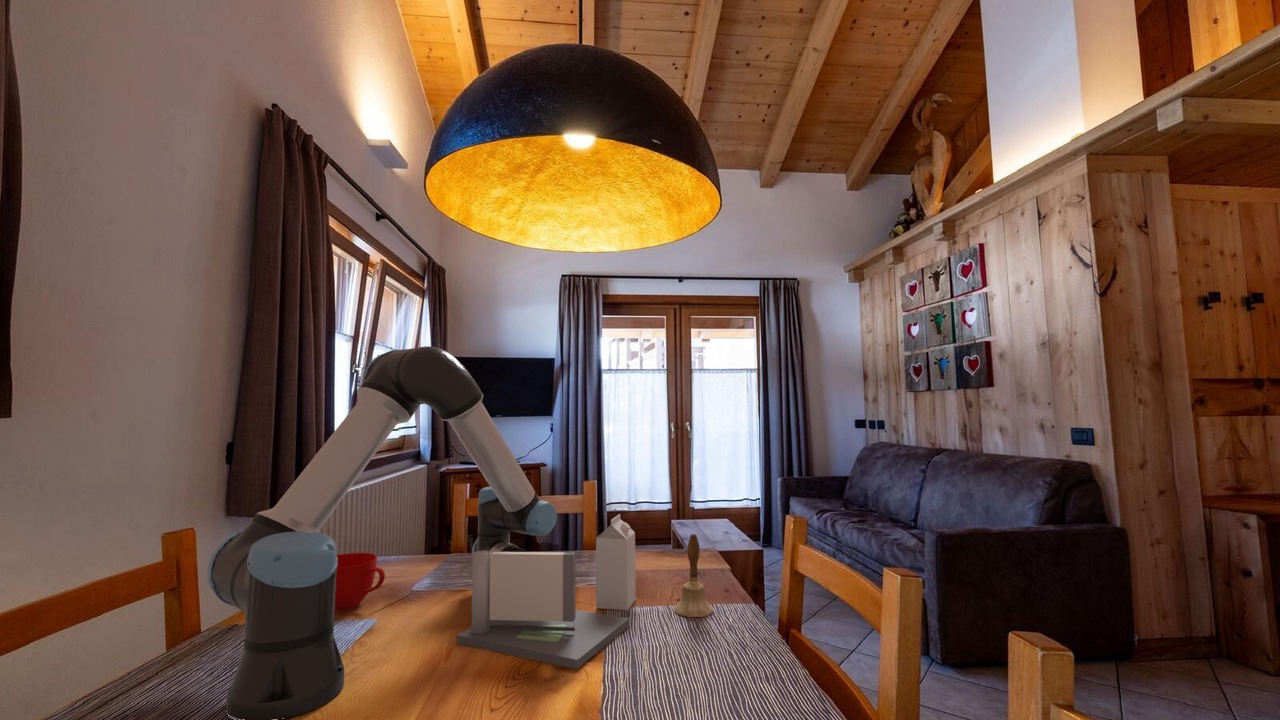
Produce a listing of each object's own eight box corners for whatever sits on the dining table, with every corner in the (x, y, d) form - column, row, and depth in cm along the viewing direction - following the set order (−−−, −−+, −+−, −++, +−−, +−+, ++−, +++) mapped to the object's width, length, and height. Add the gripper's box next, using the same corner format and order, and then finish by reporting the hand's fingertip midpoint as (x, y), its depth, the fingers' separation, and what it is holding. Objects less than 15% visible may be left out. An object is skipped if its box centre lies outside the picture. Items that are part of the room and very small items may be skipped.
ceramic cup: (359, 621, 114) (361, 571, 115) (295, 613, 119) (297, 565, 120) (402, 600, 126) (404, 555, 127) (342, 594, 131) (344, 551, 132)
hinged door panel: (468, 634, 102) (470, 554, 104) (475, 627, 106) (476, 550, 107) (572, 636, 101) (572, 555, 102) (576, 629, 104) (576, 551, 105)
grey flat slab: (577, 669, 92) (577, 658, 92) (456, 643, 102) (456, 634, 102) (629, 626, 110) (629, 617, 110) (522, 608, 120) (522, 600, 121)
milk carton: (596, 609, 119) (595, 519, 121) (605, 598, 126) (605, 513, 128) (627, 611, 118) (626, 520, 120) (635, 600, 125) (635, 514, 126)
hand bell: (712, 604, 121) (711, 530, 123) (713, 618, 113) (712, 539, 115) (674, 603, 122) (673, 530, 124) (673, 617, 114) (672, 538, 116)
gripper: (536, 574, 127) (587, 602, 108) (480, 585, 120) (525, 617, 101) (536, 541, 128) (587, 563, 109) (481, 550, 121) (525, 575, 101)
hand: (557, 589), depth 105 cm, fingers closed
